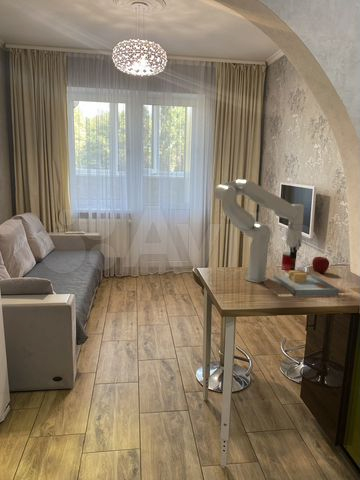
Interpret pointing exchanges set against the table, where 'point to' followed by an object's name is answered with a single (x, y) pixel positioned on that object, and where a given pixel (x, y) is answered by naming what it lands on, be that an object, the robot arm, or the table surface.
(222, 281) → the table surface
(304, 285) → the grey tray
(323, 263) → the apple
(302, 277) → the block
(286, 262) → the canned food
